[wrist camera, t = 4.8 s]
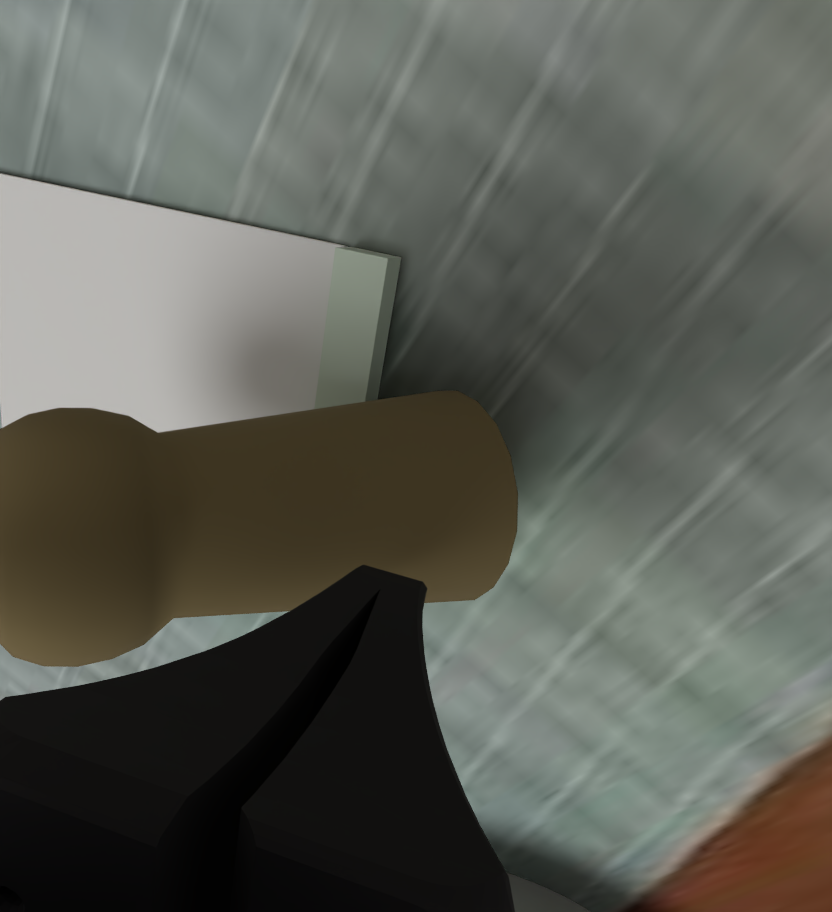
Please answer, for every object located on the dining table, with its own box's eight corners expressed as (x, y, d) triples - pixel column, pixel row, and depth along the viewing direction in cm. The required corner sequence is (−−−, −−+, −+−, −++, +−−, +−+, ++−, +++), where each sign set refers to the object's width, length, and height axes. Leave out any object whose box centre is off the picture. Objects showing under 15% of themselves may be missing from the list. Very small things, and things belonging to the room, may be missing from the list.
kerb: (401, 257, 18) (388, 258, 17) (343, 600, 22) (329, 624, 21) (352, 246, 18) (335, 247, 17) (304, 588, 22) (288, 611, 21)
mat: (347, 246, 18) (343, 246, 18) (300, 587, 22) (296, 593, 22) (-4, 172, 20) (-15, 170, 20) (15, 502, 24) (7, 507, 24)
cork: (547, 574, 14) (-31, 700, 8) (419, 618, 19) (-9, 718, 13) (477, 349, 16) (-43, 319, 10) (375, 440, 21) (-20, 456, 15)
